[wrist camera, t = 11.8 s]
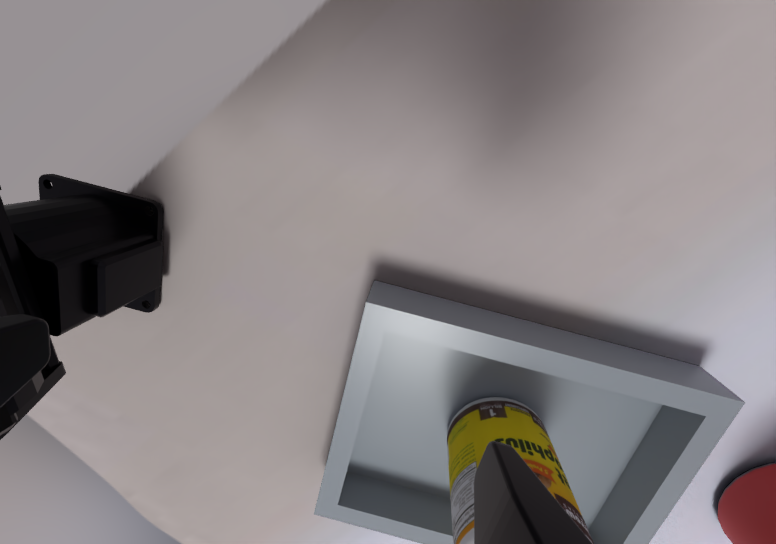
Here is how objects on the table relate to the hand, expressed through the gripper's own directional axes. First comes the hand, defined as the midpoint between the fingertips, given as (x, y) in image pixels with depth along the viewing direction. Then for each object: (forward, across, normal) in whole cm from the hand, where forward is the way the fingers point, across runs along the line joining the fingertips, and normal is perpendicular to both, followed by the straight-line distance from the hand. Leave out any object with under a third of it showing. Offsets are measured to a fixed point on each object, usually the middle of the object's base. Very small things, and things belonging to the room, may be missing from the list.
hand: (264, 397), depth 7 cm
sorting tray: (+13, -10, +9) cm, 19 cm away
